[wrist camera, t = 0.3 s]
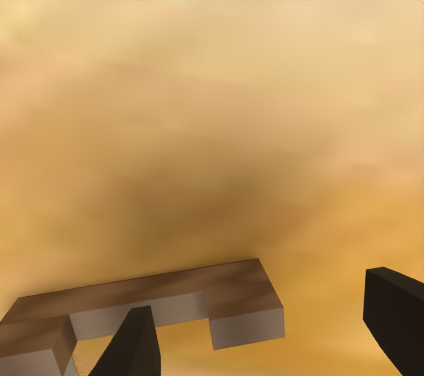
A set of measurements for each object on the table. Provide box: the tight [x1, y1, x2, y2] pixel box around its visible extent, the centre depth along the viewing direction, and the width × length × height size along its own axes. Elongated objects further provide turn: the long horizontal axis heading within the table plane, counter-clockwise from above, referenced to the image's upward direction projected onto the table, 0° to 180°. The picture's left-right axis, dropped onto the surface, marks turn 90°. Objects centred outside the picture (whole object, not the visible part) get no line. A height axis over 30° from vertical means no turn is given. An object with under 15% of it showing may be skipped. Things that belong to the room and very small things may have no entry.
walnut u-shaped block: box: [0, 259, 285, 376], centre depth 18 cm, size 16×2×5 cm, turn 96°
